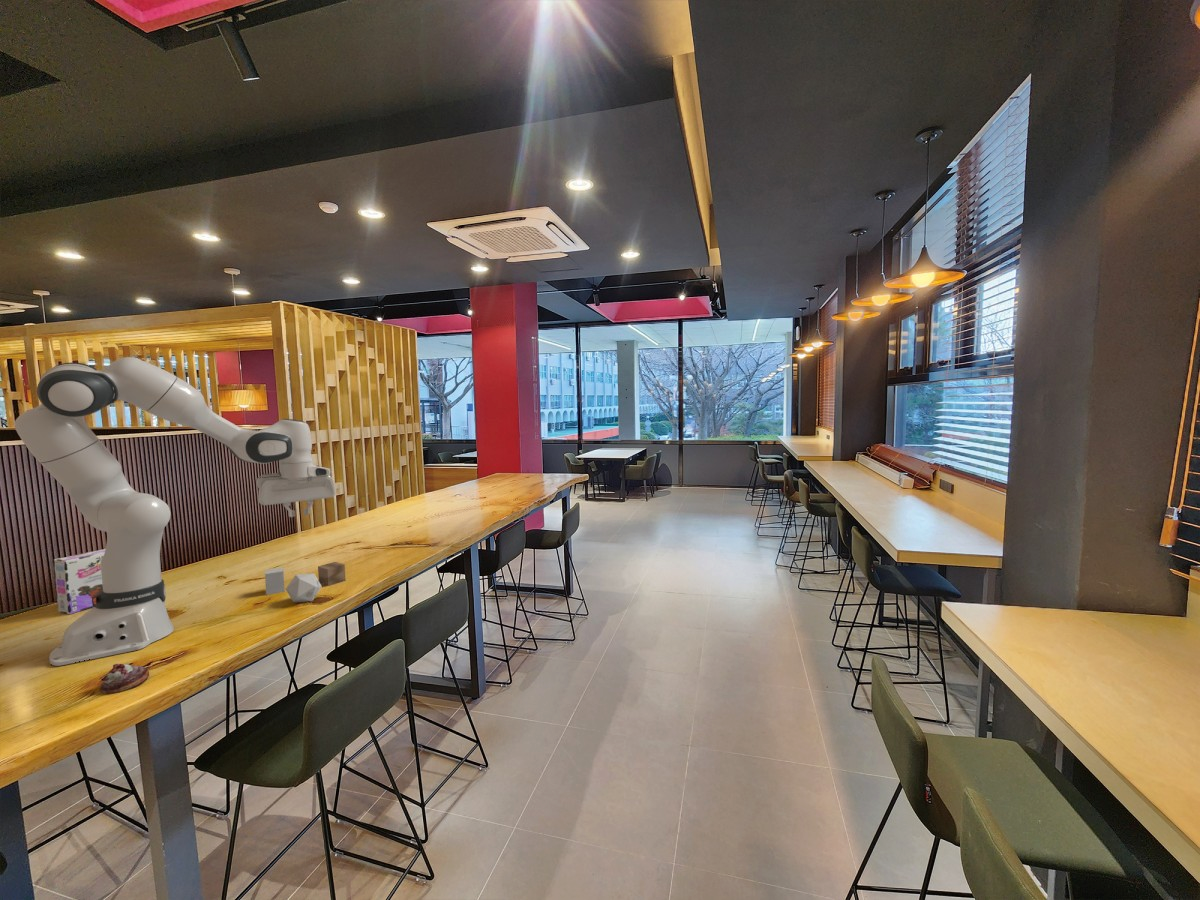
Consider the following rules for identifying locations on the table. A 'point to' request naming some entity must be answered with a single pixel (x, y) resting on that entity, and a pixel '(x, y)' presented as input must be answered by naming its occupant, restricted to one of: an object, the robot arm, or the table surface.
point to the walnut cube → (331, 573)
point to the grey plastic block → (274, 581)
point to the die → (303, 587)
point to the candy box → (77, 580)
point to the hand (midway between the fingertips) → (299, 515)
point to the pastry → (123, 678)
